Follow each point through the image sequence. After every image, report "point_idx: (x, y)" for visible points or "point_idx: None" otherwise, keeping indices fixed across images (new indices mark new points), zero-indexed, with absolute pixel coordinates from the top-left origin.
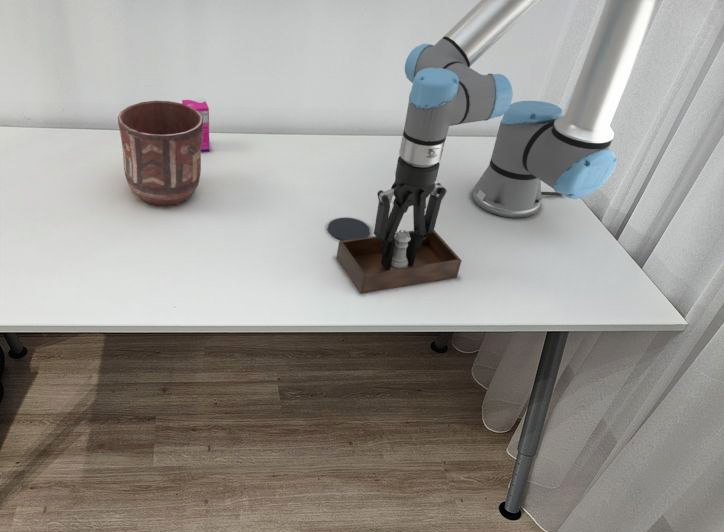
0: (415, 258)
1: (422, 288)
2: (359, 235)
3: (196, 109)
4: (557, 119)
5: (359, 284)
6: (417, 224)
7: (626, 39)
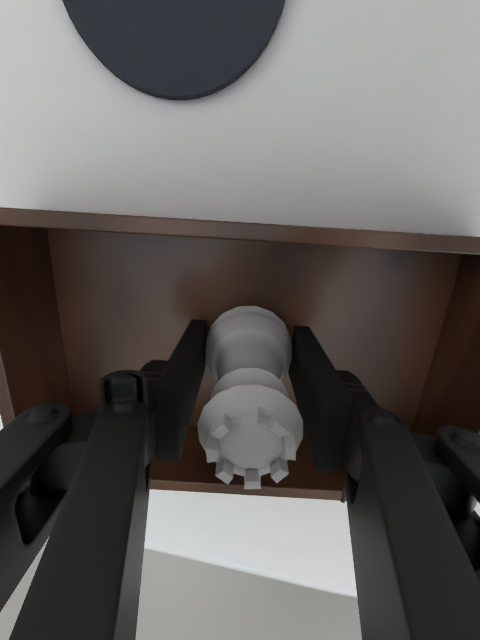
0: (352, 316)
1: None
2: (201, 54)
3: None
4: None
5: None
6: (360, 549)
7: None
